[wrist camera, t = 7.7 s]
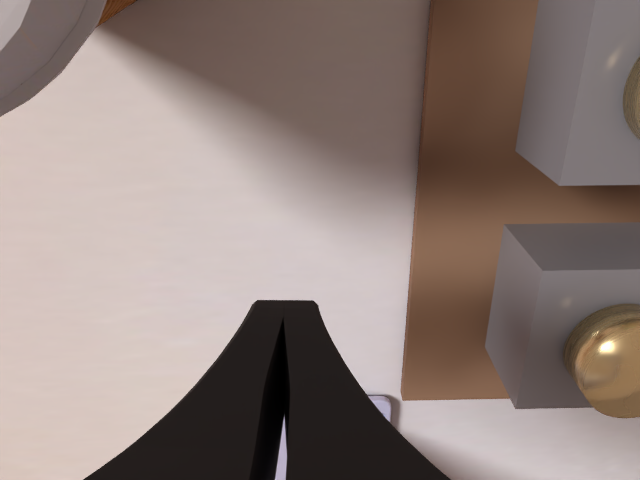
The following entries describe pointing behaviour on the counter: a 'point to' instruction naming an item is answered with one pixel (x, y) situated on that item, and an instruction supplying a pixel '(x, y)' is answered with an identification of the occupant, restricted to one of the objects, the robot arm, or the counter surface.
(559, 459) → the counter surface
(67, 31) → the disposable coffee cup
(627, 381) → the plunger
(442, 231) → the walnut board
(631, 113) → the brass round knob
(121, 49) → the counter surface
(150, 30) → the counter surface
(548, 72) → the twin gray blocks
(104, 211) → the counter surface
